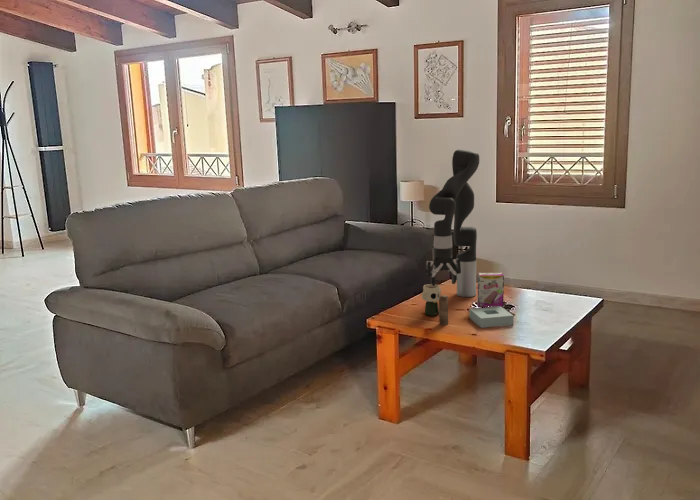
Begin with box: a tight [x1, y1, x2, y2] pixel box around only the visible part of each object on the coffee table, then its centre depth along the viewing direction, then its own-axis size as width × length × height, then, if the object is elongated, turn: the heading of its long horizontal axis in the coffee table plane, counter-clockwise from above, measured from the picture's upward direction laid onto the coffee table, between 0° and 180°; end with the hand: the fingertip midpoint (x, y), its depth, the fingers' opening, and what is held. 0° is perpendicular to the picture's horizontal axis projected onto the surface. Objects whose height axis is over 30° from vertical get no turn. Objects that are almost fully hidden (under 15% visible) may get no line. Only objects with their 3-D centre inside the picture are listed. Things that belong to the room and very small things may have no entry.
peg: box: [438, 294, 449, 326], centre depth 272 cm, size 4×4×12 cm
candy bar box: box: [476, 272, 505, 308], centre depth 290 cm, size 11×5×16 cm, turn 84°
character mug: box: [421, 283, 442, 316], centre depth 286 cm, size 11×7×13 cm, turn 127°
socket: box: [468, 306, 515, 329], centre depth 274 cm, size 14×14×4 cm
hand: (443, 284), depth 270 cm, fingers open, 8 cm apart
